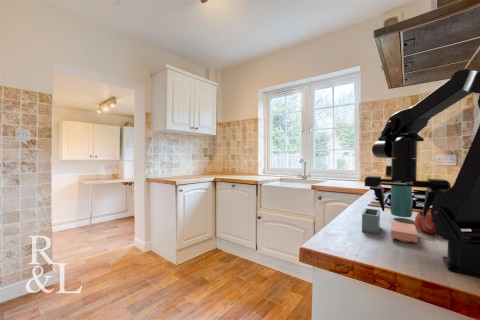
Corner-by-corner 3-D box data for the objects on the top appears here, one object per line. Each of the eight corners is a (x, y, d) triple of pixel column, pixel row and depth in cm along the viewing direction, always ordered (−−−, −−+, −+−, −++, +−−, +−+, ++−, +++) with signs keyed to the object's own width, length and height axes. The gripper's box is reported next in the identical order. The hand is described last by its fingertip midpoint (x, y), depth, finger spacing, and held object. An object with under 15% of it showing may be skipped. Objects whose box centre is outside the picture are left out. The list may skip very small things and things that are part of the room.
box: (378, 234, 64) (378, 216, 64) (361, 231, 67) (362, 213, 66) (379, 226, 71) (379, 209, 71) (364, 224, 74) (365, 208, 74)
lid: (417, 246, 56) (417, 234, 56) (390, 241, 59) (391, 230, 59) (414, 234, 64) (414, 224, 64) (391, 231, 68) (391, 221, 68)
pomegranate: (426, 234, 71) (401, 215, 71) (443, 217, 69) (418, 198, 69) (444, 246, 63) (417, 225, 63) (464, 228, 62) (436, 206, 62)
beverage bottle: (416, 222, 76) (417, 164, 76) (395, 221, 77) (395, 164, 77) (406, 217, 82) (407, 164, 82) (386, 216, 84) (387, 164, 83)
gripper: (443, 158, 63) (442, 212, 63) (368, 157, 74) (367, 204, 74) (451, 159, 54) (450, 221, 54) (364, 158, 65) (364, 210, 65)
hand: (402, 213), depth 62 cm, fingers open, 9 cm apart
